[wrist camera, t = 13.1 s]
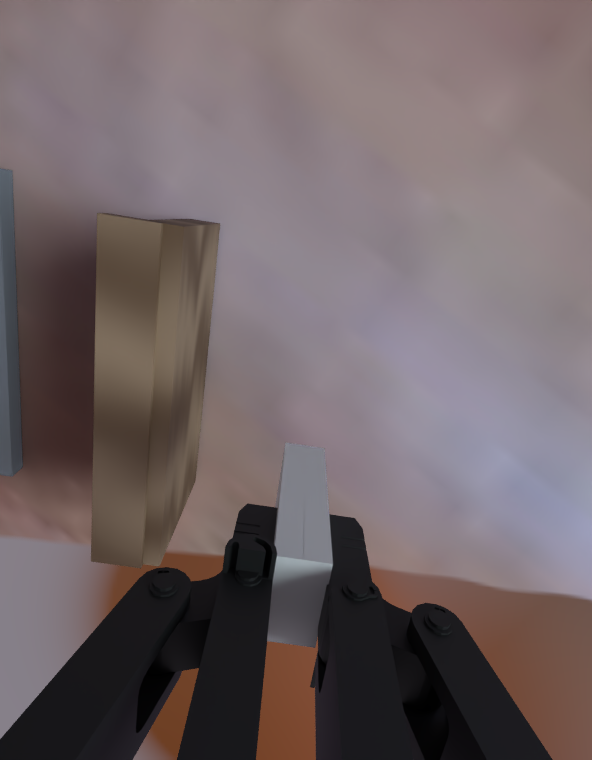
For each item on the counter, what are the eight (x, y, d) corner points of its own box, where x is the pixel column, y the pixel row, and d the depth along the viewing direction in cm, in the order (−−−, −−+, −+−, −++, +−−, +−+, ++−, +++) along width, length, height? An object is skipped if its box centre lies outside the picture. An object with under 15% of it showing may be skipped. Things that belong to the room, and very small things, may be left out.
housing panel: (161, 214, 26) (97, 212, 18) (220, 223, 26) (182, 226, 18) (145, 474, 31) (91, 561, 23) (195, 481, 31) (157, 570, 23)
